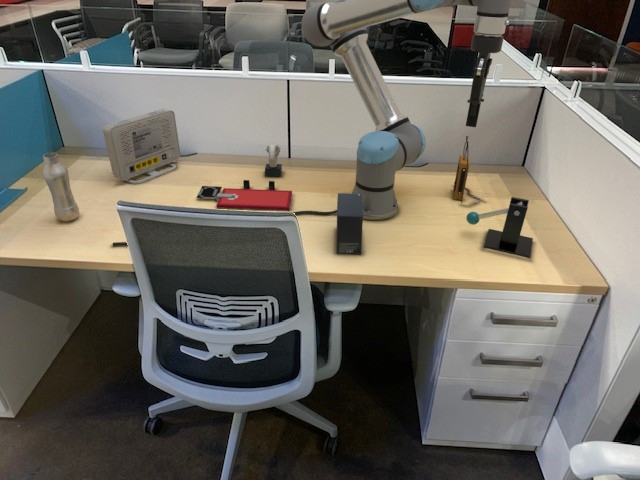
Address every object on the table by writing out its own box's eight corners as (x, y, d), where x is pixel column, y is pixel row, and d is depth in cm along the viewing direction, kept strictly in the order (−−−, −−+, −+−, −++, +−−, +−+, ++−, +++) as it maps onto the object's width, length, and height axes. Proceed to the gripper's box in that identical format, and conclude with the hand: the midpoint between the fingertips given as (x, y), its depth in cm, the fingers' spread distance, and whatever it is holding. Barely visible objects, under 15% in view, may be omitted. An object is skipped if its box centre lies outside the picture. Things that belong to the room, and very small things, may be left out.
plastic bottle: (57, 226, 138) (37, 161, 127) (56, 215, 143) (36, 152, 132) (82, 221, 140) (63, 157, 130) (80, 211, 145) (62, 149, 135)
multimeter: (486, 208, 151) (500, 149, 141) (454, 205, 153) (465, 146, 142) (482, 189, 164) (494, 132, 153) (452, 186, 165) (462, 130, 155)
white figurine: (282, 169, 174) (281, 140, 168) (280, 179, 167) (279, 149, 161) (266, 169, 174) (265, 140, 168) (264, 178, 167) (263, 149, 161)
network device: (171, 159, 181) (162, 106, 170) (186, 164, 176) (179, 111, 166) (111, 181, 163) (97, 124, 152) (126, 188, 159) (114, 130, 148)
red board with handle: (203, 185, 161) (192, 207, 148) (203, 178, 159) (191, 199, 147) (292, 189, 161) (289, 211, 148) (292, 181, 159) (289, 203, 147)
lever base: (482, 250, 131) (493, 205, 124) (487, 232, 139) (498, 190, 132) (529, 260, 127) (543, 215, 120) (531, 242, 135) (544, 199, 128)
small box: (335, 229, 139) (337, 192, 133) (359, 229, 139) (362, 192, 133) (335, 254, 128) (337, 215, 122) (361, 255, 128) (364, 215, 122)
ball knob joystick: (467, 228, 133) (463, 216, 132) (469, 222, 136) (465, 211, 135) (524, 216, 125) (520, 203, 124) (525, 210, 128) (521, 198, 127)
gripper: (501, 39, 113) (481, 135, 126) (506, 31, 124) (488, 121, 136) (469, 36, 116) (452, 130, 129) (477, 29, 126) (461, 117, 139)
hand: (471, 125), depth 132 cm, fingers closed
